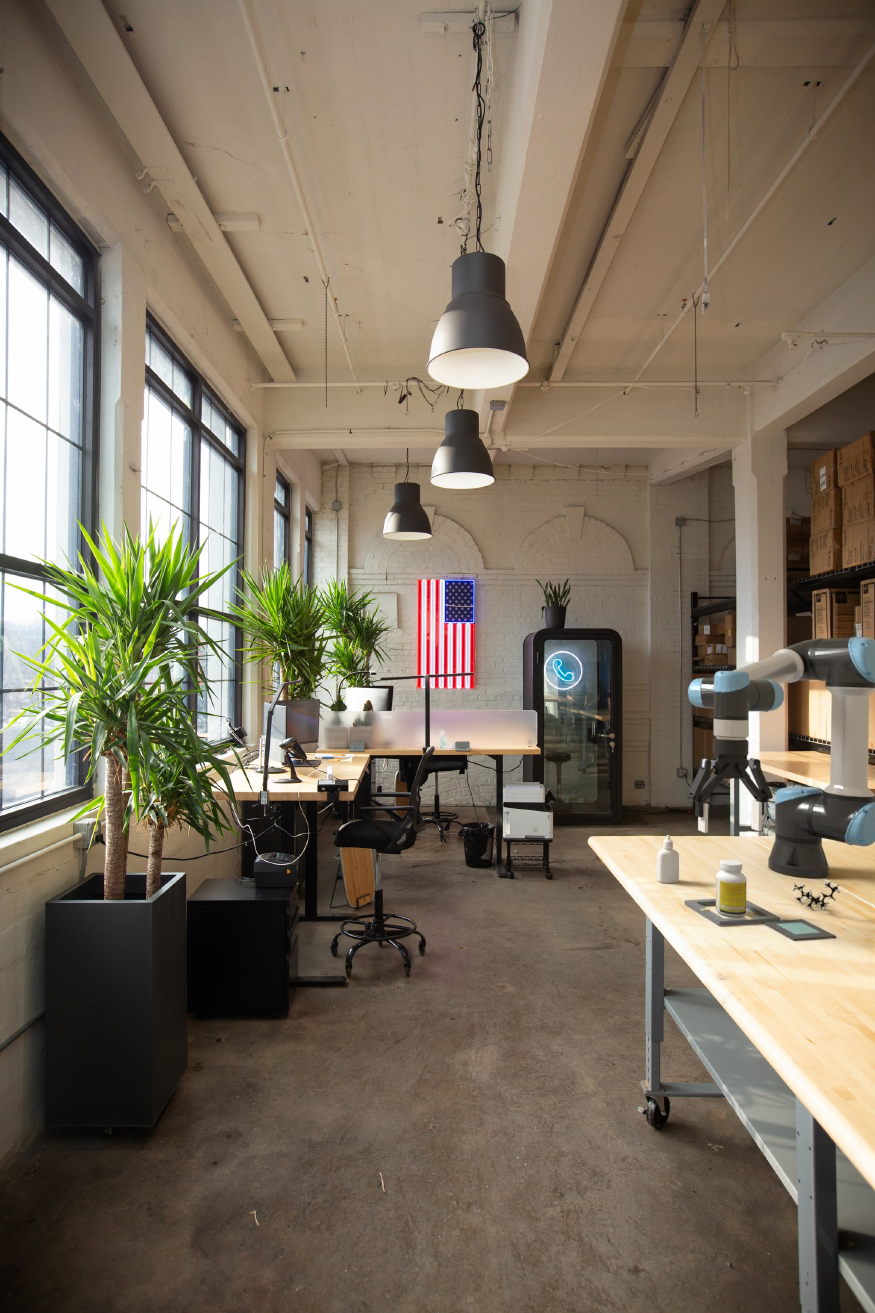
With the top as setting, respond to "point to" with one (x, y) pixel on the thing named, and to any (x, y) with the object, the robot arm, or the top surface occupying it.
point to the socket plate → (763, 916)
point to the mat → (798, 929)
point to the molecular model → (817, 900)
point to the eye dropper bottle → (667, 863)
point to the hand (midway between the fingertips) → (729, 830)
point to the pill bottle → (731, 889)
